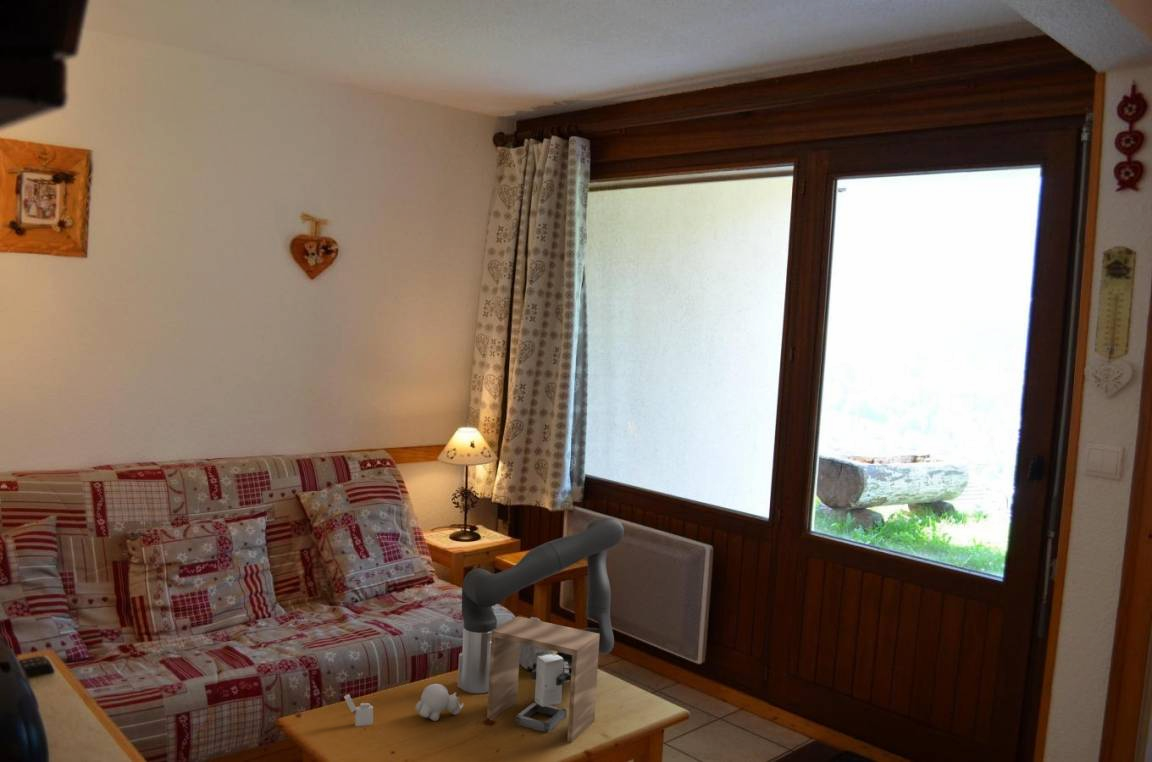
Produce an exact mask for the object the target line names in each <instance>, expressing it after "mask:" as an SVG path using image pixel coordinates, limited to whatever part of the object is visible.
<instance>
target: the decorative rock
mask: <svg viewBox="0 0 1152 762" xmlns="http://www.w3.org/2000/svg"><path fill="white" fill-rule="evenodd" d="M529 619H533V620H538V621H541V620H540V618H538V617H534V616H531V617H529ZM553 652H554V651H553V650H548V649H544V648H539V647H535V646H531V645H526V644H522V643H520V656H519V665H521V666H522V667H523V668H524V669H525V670H527V671H529V670H532V667H533V663H534V662H535V661H536V660H537V657H538V656H544V655H550V654H554V653H553Z"/></svg>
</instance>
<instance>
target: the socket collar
mask: <svg viewBox="0 0 1152 762" xmlns="http://www.w3.org/2000/svg"><path fill="white" fill-rule="evenodd" d="M537 711H538V713H541V712H542V714H545V713H546V715H548V714H549V715H548V716H552V715H553V716H552V717H550V718H549V719H548V720H547V721H542V720H539V719H535V718H533V717H531V716H533V715H534V714H535V713H537ZM565 717H566V718H567V709H566V708H562V707H559V706H558V707H557V706H554V705H549V706H544V707H542V706H540V705H539V704H538V703H537V702H536V701H533V702H532V703H531V704H530V705H528V706H527V707H526V708H525V709H523V710H521V712H519V713H517V715H515V718H514V719H515V720H514V723H515V725H517V724H518V726H520V725H521V726H520V727H525V728H529V729H531V728H532V730H535V731H539V730H540V731H539V732H542V731H543V733H546V732H547V734H548V733H549V732H551V729H552V728H553V729H554V728H555V727H557V726H558V723H559V722H560V721H561V722H562V721H563V720H564V719H566V718H565ZM561 722H560V723H561ZM560 723H559V724H560ZM553 729H552V730H553Z"/></svg>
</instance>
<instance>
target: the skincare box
mask: <svg viewBox="0 0 1152 762" xmlns="http://www.w3.org/2000/svg"><path fill="white" fill-rule="evenodd" d="M563 661H564V659H563V658H562V657H561V656H559V655H557V654H556V653H552V654H550V655H544V656H538V657H537V668H536V680H535V690H534V702H537V703H538V704H539V705H540V706H542V707H544V706H549V705H551V706H554V705H557V704H561V703H562V695H563V694H562V693H563V684H561V685H560V686H557V685H556V679H557V677H558V676H559V675H560V674H562V673H563Z"/></svg>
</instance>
